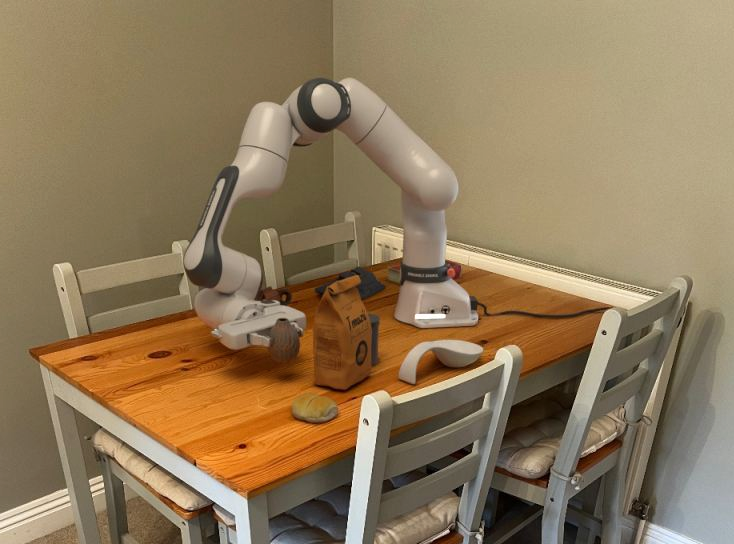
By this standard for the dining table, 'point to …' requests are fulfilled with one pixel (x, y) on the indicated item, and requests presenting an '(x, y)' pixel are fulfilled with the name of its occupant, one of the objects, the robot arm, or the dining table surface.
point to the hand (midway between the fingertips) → (286, 338)
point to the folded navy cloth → (365, 288)
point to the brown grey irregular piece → (275, 295)
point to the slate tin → (374, 337)
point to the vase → (284, 341)
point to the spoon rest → (440, 356)
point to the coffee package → (341, 336)
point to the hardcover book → (395, 271)
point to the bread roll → (314, 408)
